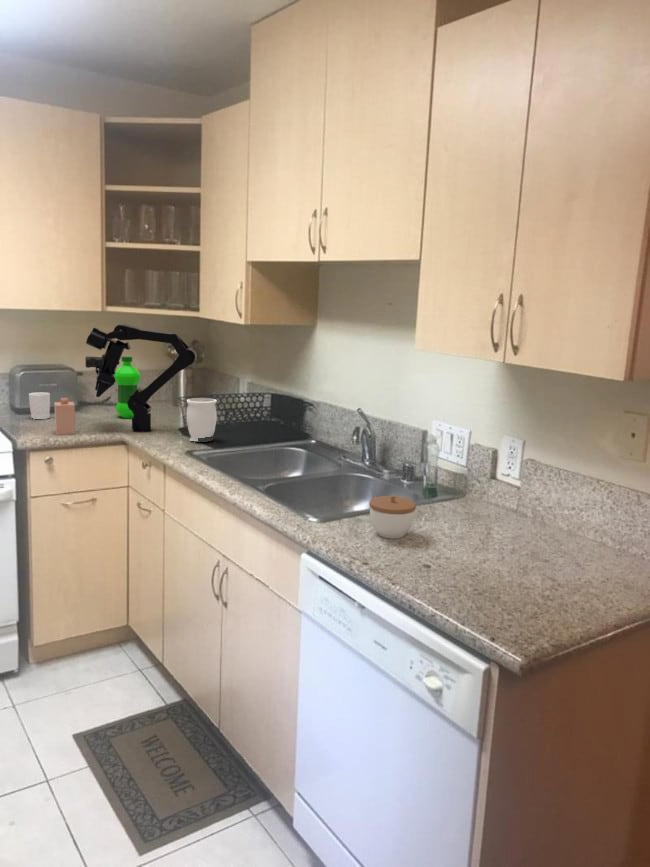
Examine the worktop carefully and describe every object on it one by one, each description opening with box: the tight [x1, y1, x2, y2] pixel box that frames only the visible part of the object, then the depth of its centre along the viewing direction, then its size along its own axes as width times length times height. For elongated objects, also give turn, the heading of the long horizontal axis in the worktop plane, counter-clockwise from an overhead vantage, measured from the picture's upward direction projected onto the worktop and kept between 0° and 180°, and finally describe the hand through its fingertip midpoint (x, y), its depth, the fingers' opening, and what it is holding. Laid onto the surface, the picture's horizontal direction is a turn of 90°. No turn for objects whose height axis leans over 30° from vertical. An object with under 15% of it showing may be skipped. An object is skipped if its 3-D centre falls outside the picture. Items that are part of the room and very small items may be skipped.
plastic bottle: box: [114, 355, 141, 419], centre depth 288 cm, size 10×10×25 cm
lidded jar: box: [369, 494, 417, 540], centre depth 163 cm, size 11×11×9 cm
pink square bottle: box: [53, 397, 77, 436], centre depth 254 cm, size 6×7×13 cm
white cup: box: [28, 391, 51, 420], centre depth 281 cm, size 8×8×10 cm
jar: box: [186, 397, 218, 442], centre depth 251 cm, size 11×10×15 cm
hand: (96, 393), depth 262 cm, fingers open, 9 cm apart
